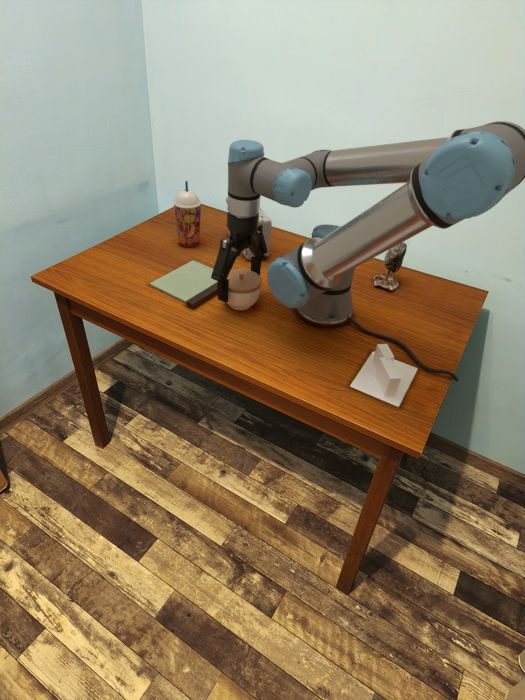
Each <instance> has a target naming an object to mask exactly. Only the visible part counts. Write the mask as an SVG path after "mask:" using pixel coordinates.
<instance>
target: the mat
mask: <svg viewBox="0 0 525 700" xmlns="http://www.w3.org/2000/svg"><path fill="white" fill-rule="evenodd" d="M213 269H214V268H212V267H210V266H208V265H206V264H203V263H201V262H198V261H196V260H194V259H192V260H191V261H189V262H187V263H185V264H183V265H181V266H179V267H177V268H176V269H173V270H172V271H170V272H168V273H166V274H165V275H162V276H161V277H159V278H157V279H155V280H153V281H151V282H149V286H150V287H153V288H155V289H157V290H159V291H161V292H162V293H163V292H164V293H165V294H167V295H169V296H171V297H174V298H175V299H177V300H179V301H181V302H183V303H185V304H186V301H187V300H189V299H190V298H192V297H194V296H195V295H197V294H198V293H200V292H202V291H203V290H205V289H207V288H208V287H210V286H212V285H213V284H215V283H216V282H217V281H216V280H214V279H212V278H211V275H212V272H213Z"/></svg>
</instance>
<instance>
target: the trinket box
mask: <svg viewBox="0 0 525 700" xmlns="http://www.w3.org/2000/svg"><path fill="white" fill-rule="evenodd" d="M223 276H224V275H223ZM227 279H228V280H229V293H228V302H227V303H226V304H227V305H228V306H229V308H231V309H233V310H235V311H246V310H248V309H250V308H251V307H252V306H253V305H255V304H256V303H257V301H258V299H259V297H260V294H261V289H262V281H263V280H262V277H261V275H260V276H259V275H258V274H257V273H255V272H253V271H251V269H246V268H232V269H231V271H230V273H229V275H228V277H227Z"/></svg>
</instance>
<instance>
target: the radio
mask: <svg viewBox="0 0 525 700" xmlns="http://www.w3.org/2000/svg"><path fill="white" fill-rule="evenodd" d="M225 202H226V204H227V205H228V196H226V198H225ZM258 214H259V224H261V225H262V226H263V236H264V239H265V243H266V246H267V250H268V252H267V253H266V254H265V253H264V255H266V258H268V257H269V255H270V250H271V241H272V229H273V223H272V222H273V221H272V220H271V218H270V217H269V216H268V215H267V214H266V213H265V212H264V211H263V210H262V209H261V208H260V212H259V213H258ZM227 233H228V236H230V231H229V229H228V228H227ZM253 238H254V237H253ZM241 253H242V255H243V257H245V259H246V260H248V261H250V260H251V257H252V256H254V255H253V253H252V252H251V251H250V249H249V248H247V249H244V250H243V251H242V252H241ZM254 257H255V256H254Z"/></svg>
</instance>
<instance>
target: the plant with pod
mask: <svg viewBox="0 0 525 700" xmlns="http://www.w3.org/2000/svg"><path fill="white" fill-rule="evenodd" d="M407 243H408V244H409V243H410V242H409V241H407ZM407 243H406V242H405V241H404V242H402V243H400V244H398V245H396V246H394V247H393V248H391V249H389V250H387V251H386V253H385V255H384V261H383V262H384V263H383V265H384V267H385V269H387V270H388V271H387V274H386V273H380V274H379V273H377V274H375V275H374V276H373V282H374V283H373V286H375V287H376V286H377V287H382V288H384V289H386V290H388V291H395V290H396V289H397V287H399V286H400V282H399V281H398V279H397V277H393V276H394V275H395V274H396V273H398V271H399V270H400V269H401V267H402V265H403V261H404V258H405V256H406V253H407V248H408V244H407Z"/></svg>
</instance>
